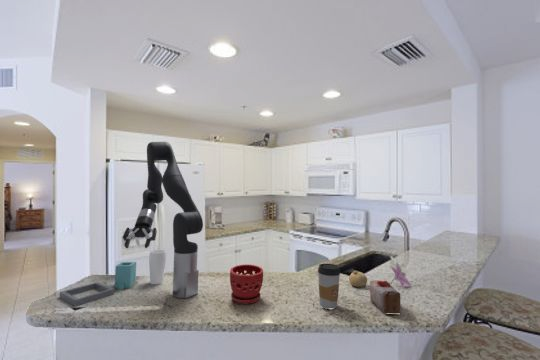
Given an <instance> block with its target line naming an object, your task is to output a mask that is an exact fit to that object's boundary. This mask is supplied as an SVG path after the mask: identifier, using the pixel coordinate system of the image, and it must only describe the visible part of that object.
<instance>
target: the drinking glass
mask: <svg viewBox="0 0 540 360" xmlns="http://www.w3.org/2000/svg"><path fill="white" fill-rule="evenodd" d="M148 257H149V258H148V261H149V263H148V264H149V283H150V285H159V284H163V282H164V278H165V277H164V276H165V269H166V259H167V251H166V250H165V249H153V250H150V251H149V256H148Z"/></svg>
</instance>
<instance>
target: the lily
mask: <svg viewBox="0 0 540 360" xmlns="http://www.w3.org/2000/svg"><path fill="white" fill-rule="evenodd" d="M395 266H396V267H393V266H391V265H389V267H390V268H391V270H392V272H393V273H394V276H393V279H392V280H391V281H390V282H389V283H390V285H391V284H392V283H393V282H394V281H397V282H399V283H400V285H401V287H402V290H405V288H406V286H405V285H407V286H409V287H410V288H412V287H413V286H412V284H411V282H410V281H409V280H408V278H406V276H407V274H406V272H404V271H402V268H401V266H400V264H399V262H396V265H395Z"/></svg>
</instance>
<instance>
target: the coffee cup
mask: <svg viewBox="0 0 540 360" xmlns="http://www.w3.org/2000/svg"><path fill="white" fill-rule="evenodd" d="M317 273H318V295H319V296H318V297H319V305H320V307H321V306H322V307H325V308H336V309H337V307H338V301H339V300H338V298H339V288H340V274H341V269H340V267H339V265H337V264H334V263H321V264H319V266H318V268H317ZM322 307H321V308H322Z"/></svg>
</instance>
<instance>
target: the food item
mask: <svg viewBox="0 0 540 360" xmlns="http://www.w3.org/2000/svg"><path fill="white" fill-rule="evenodd" d="M390 283H391V282H389V281H387V280H379V279H375V280H374V279H373V280H370V281H369V289H368V290H369V295H370V296H369V298H370V301H371V302H372V303H373V304H375V305H374V306H376V307H377V306H378V307H377V308H378V309H379V310H380V311H381V312H382V313H383V314H384V313H400V314H401V313H402V312H401V308H402V307H401V305H402V304H401V293H400V292H399V291H397V290H396V289H395V288H394V286H392V285H391V284H390Z"/></svg>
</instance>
